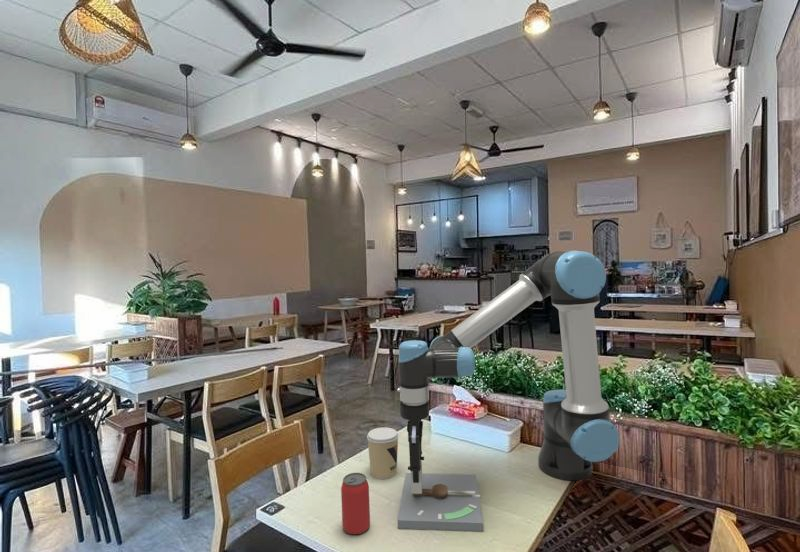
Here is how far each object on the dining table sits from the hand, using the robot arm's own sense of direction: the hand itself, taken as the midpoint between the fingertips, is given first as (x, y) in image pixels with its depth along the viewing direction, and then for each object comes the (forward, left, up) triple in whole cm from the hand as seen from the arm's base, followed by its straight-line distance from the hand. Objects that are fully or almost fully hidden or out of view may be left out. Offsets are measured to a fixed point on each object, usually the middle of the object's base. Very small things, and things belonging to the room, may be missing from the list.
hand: (417, 489), depth 111 cm
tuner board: (-6, 0, -4) cm, 7 cm away
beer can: (+14, +11, -4) cm, 18 cm away
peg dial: (-6, 0, -1) cm, 6 cm away
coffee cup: (+11, -15, -4) cm, 19 cm away
